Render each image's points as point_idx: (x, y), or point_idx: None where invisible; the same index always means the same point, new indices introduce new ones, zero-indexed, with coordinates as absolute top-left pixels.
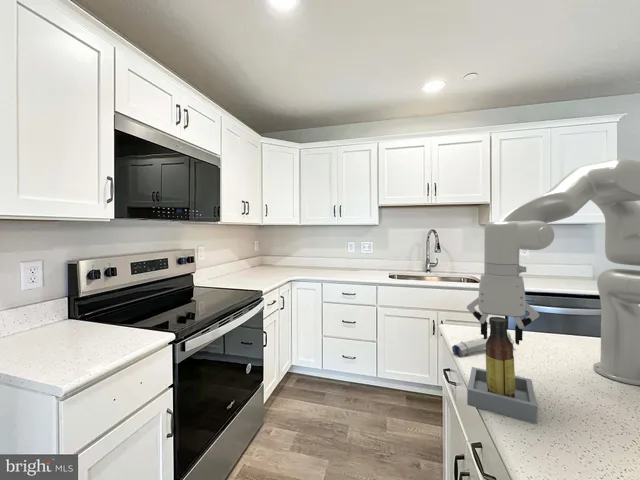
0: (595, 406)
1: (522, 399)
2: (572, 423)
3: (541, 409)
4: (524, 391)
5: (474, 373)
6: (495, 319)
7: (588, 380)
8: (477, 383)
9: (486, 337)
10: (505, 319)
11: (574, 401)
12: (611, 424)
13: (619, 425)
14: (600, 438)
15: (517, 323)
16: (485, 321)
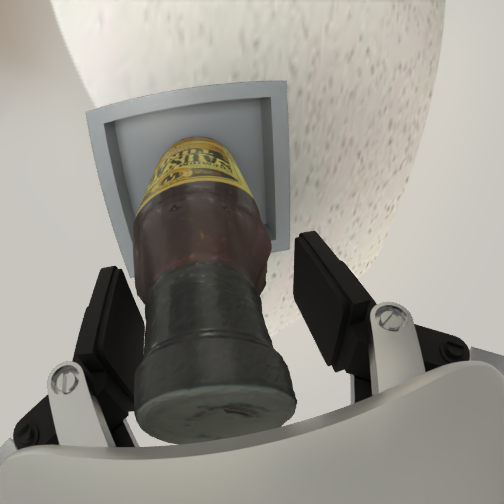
0: (392, 76)
1: (250, 155)
2: (339, 179)
3: (289, 155)
4: (255, 100)
5: (107, 162)
6: (202, 440)
7: None
8: (122, 142)
9: (142, 333)
10: (281, 414)
11: (361, 70)
12: (397, 141)
13: (407, 138)
14: (368, 204)
15: (355, 395)
16: (124, 416)
